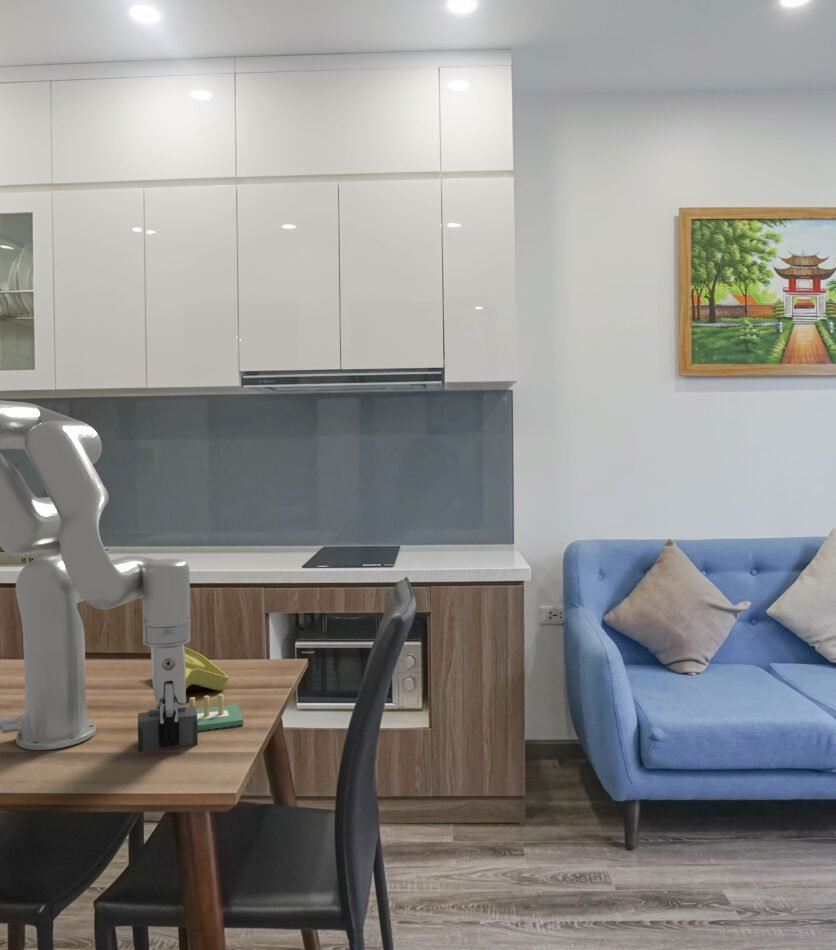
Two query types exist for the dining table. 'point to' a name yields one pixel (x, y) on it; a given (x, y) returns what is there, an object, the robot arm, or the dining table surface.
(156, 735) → the plug
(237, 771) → the dining table surface
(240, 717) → the header
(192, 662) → the plastic component
